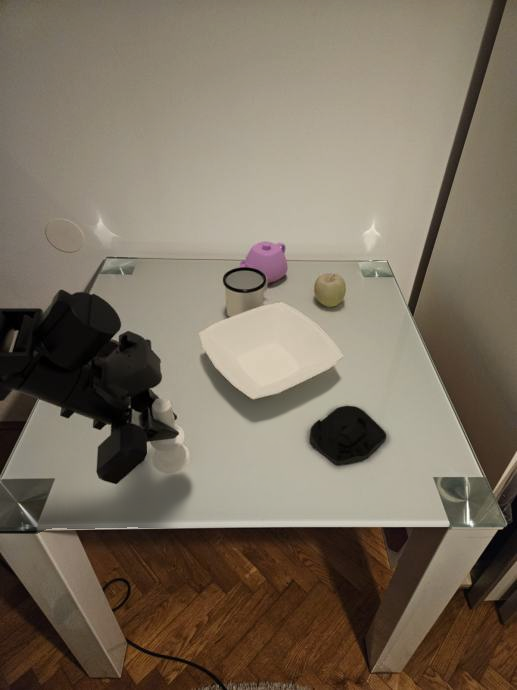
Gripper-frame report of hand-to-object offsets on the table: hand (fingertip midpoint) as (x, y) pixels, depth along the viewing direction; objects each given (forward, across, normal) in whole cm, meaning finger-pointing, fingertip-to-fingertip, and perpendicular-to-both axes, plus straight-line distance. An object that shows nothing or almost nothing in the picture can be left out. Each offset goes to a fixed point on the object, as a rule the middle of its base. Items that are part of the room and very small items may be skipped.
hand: (176, 427), depth 58 cm
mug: (+22, +41, -4) cm, 47 cm away
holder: (0, +27, +18) cm, 33 cm away
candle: (+4, 0, +6) cm, 7 cm away
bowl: (+22, +22, -4) cm, 32 cm away
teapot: (+27, +54, -8) cm, 60 cm away
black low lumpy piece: (+29, +3, -10) cm, 31 cm away
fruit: (+36, +40, -17) cm, 57 cm away
